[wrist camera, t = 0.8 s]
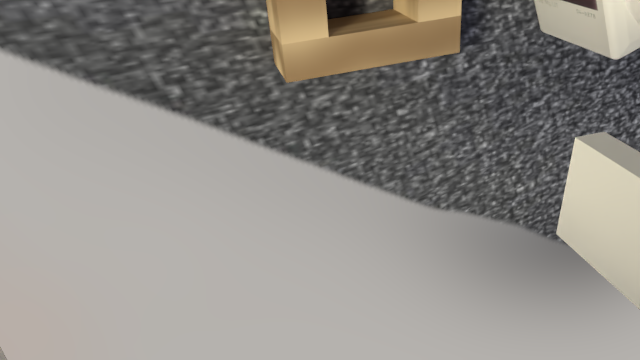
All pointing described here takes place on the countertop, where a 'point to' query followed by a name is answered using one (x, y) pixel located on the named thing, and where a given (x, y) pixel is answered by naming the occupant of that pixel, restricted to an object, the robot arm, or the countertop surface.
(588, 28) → the container
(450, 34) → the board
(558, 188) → the countertop surface
